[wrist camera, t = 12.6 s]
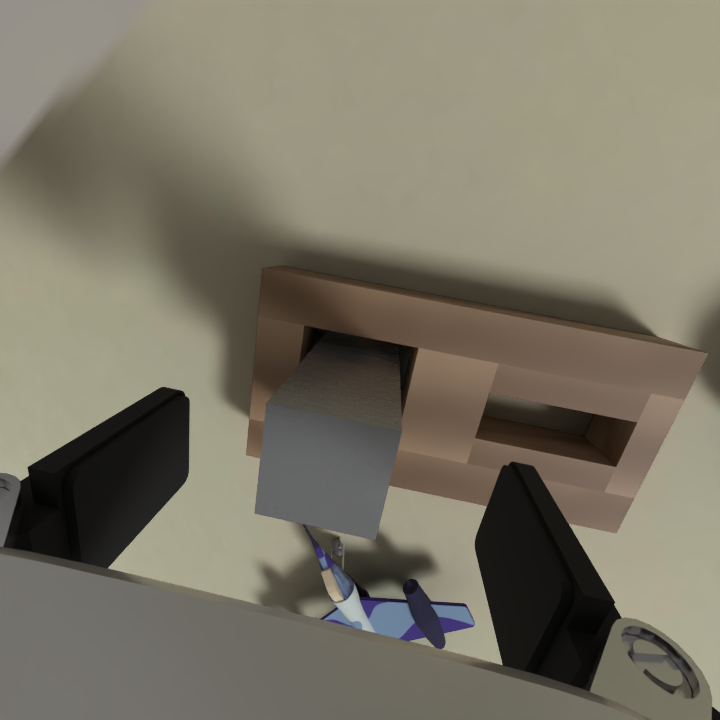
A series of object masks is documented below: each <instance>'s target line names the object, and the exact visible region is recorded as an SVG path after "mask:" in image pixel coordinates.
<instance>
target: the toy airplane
mask: <svg viewBox="0 0 720 720" xmlns="http://www.w3.org/2000/svg"><path fill="white" fill-rule="evenodd" d="M303 526H304V528H305V530H306V532H307V534H308V535H309V537H310V539H311V541H312V544H313V547H314V549H315V552H316V554H317V557H318V560H319V563H320V566H321V570H322V571H321V574H322V577H323V580H324V583H325V586H326V589H327V591H328V593H329V595H330V599H331V601H332V602H333V603H334V604H335V605H336V606H337V607H336V608H335V609H334V610H332V611H331V612H330V613H328V614H327V615H325V616H324V617H323V618H321V620H325V621H329V622H333V623H337V624H341V625H345V626H349V627H353V628H357V629H361V630H365V631H369V632H373V633H377V634H381V635H385V636H389V637H393V638H397V639H402V640H406V641H411V640H415V639H420V638H424V637H426V638H427V639H428V640H429V641H430V642H431V643H432V644H433V645H434V646H435V648H438V649H442V648H444V646H445V636H444V633H447V632H452V631H456V630H461V629H466V628H470V627H473V626H474V625H475V623H474V620H473V617H472V615H471V613H470V611H469V609H468V607H467V605H466V604H464V603H448V602H433V601H431V600H430V599H429V598H428V596H427V595H426V594H425V592H424V591H423V590H422V588H421V587H420V585H419V584H418V582H417V581H416V580H414V579H409V580H407V579H406V582H405V583H404V585H403V592H404V594H405V596H406V599H407V600H401V599H386V598H370V596H369V594H368V592H367V591H366V590H365V589H361V588H360V587H359V585H358V584H357V583H356V582H355V581H354V580H353V579H352V578H351V577H350V576H349V575H348V574H347V573H345V572H344V547H345V545H344V544H342V543H341V541H340V540H339V539H335V540H334V541H333V543H332V548H331V558H330V557H329V556H328V555H327V554H326V553H325V552H324V550H323V549H322V548H321V547H320V545H319V544H318V543H317V542H316V541H315V540H314V538H313V537H312V535H311V534H310V532H309V531H308V529H307V527H306V526H305V524H303ZM333 552H334V554H335V555H336V556H341V555H342V569H341V568H340V567H339V566H338V565H337V564H336V563H335V561H334V560H333Z"/></svg>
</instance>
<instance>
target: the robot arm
mask: <svg viewBox="0 0 720 720" xmlns="http://www.w3.org/2000/svg"><path fill="white" fill-rule="evenodd" d="M189 407H190V402H189V398H188V397H185V394H184V392H183V391H180V390H175V389H171V388H166V387H161V388H159V389H157V390H156V391H154V392H152V393H151V394H149V395H147V396H146V397H144V398H142V399H141V400H139V401H137V402H136V403H134V404H132V405H131V406H129V407H127V408H126V409H124V410H122V411H121V412H119V413H117V414H116V415H114V416H112V417H111V418H109V419H107V420H106V421H104V422H102V423H101V424H99V425H97V426H96V427H94V428H92V429H91V430H89V431H87V432H86V433H84V434H82V435H81V436H79V437H77V438H76V439H74V440H72V441H71V442H69V443H67V444H66V445H64V446H62V447H61V448H59V449H57V450H56V451H54V452H52V453H51V454H49V455H47V456H46V457H44V458H42V459H41V460H39V461H37V462H36V463H34V464H32V465H31V466H29V467H28V472H29V476H28V477H26V478H25V479H23V480H22V481H20V480H19V479H18V478H17V477H16V476H13V475H10V474H7V473H0V720H720V712H718V711H717V710H716V709H715V708H713V707H712V696H711V691H710V686H709V684H708V683H707V681H706V679H705V677H704V675H703V673H702V671H701V670H700V669H699V668H698V666H697V665H696V664H695V662H694V661H693V660H692V658H691V657H690V656H689V655H688V654H687V653H686V652H685V651H684V650H683V649H682V648H681V647H680V646H679V645H678V644H677V643H675V642H674V641H673V640H671V639H670V638H669V637H668V636H666V635H665V634H664V633H662V632H661V631H659V630H657V629H656V628H654V627H652V626H651V625H649V624H647V623H644V622H642V621H639V620H637V619H631V618H621V616H620V614H619V613H618V611H617V609H616V608H615V606H614V603H615V601H614V600H613V598H612V596H611V595H610V593H609V591H608V590H607V588H606V586H605V585H604V583H603V581H602V580H601V578H600V576H599V574H598V573H597V571H596V569H595V568H594V566H593V564H592V563H591V561H590V559H589V558H588V556H587V554H586V553H585V551H584V549H583V548H582V546H581V544H580V543H579V541H578V539H577V538H576V536H575V534H574V532H573V531H572V529H571V527H570V526H569V524H568V522H567V521H566V519H565V517H564V516H563V514H562V512H561V511H560V509H559V507H558V506H557V504H556V502H555V501H554V499H553V497H552V495H551V494H550V492H549V490H548V489H547V487H546V485H545V484H544V482H543V480H542V479H541V477H540V475H539V474H538V472H537V470H536V469H535V467H534V466H532V465H527V464H523V463H518V462H513V461H512V462H510V463H509V465H508V466H507V465H503V466H502V468H501V470H500V473H499V476H498V478H497V481H496V484H495V486H494V489H493V492H492V494H491V497H490V500H489V503H488V505H487V508H486V511H485V513H484V516H483V519H482V521H481V524H480V527H479V530H478V532H477V535H476V539H475V551H476V555H477V559H478V563H479V568H480V572H481V576H482V580H483V584H484V588H485V592H486V597H487V601H488V605H489V609H490V613H491V617H492V622H493V626H494V630H495V634H496V638H497V642H498V647H499V651H500V655H501V659H502V663H503V665H499V664H495V663H492V662H488V661H484V660H480V659H477V658H473V657H469V656H466V655H462V654H458V653H454V652H450V651H446V650H442V649H438V648H434V647H430V646H426V645H422V644H418V643H414V642H410V641H406V640H402V639H397V638H393V637H389V636H385V635H381V634H377V633H373V632H369V631H365V630H361V629H357V628H353V627H349V626H345V625H341V624H337V623H333V622H329V621H325V620H321V619H317V618H312V617H308V616H304V615H300V614H296V613H292V612H288V611H284V610H280V609H275V608H271V607H267V606H263V605H259V604H255V603H251V602H246V601H242V600H238V599H234V598H230V597H226V596H222V595H217V594H213V593H209V592H205V591H201V590H196V589H192V588H188V587H184V586H179V585H175V584H171V583H167V582H162V581H158V580H154V579H150V578H145V577H141V576H137V575H133V574H128V573H124V572H120V571H116V570H111V569H107V568H108V567H109V566H110V565H111V564H112V563H113V562H114V561H115V559H116V558H117V557H118V556H119V555H120V554H121V553H122V552H123V551H124V549H125V548H126V547H127V546H128V545H129V544H130V543H131V542H132V541H133V540H134V538H135V537H136V536H137V535H138V534H139V533H140V532H141V531H142V530H143V528H144V527H145V526H146V525H147V524H148V523H149V522H150V521H151V520H152V518H153V517H154V516H155V515H156V514H157V513H158V512H159V511H160V510H161V509H162V507H163V506H164V505H165V504H166V503H167V502H168V501H169V500H170V499H171V497H172V496H173V495H174V494H175V493H176V492H177V491H178V490H179V489H180V488H181V486H182V485H183V484H184V483H185V481H186V479H187V477H188V473H189Z"/></svg>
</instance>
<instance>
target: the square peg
mask: <svg viewBox="0 0 720 720" xmlns="http://www.w3.org/2000/svg"><path fill="white" fill-rule="evenodd" d="M401 434H402V413H401V389H400V365H399V344H396V343H391V342H386V341H381V340H376V339H371V338H366V337H361V336H355V335H350V334H345V333H340V332H335V331H330V330H328V331H327V332H326V333H325V334H324V336H323V337H322V338H321V339H320V340H319V341H318V343H317V344H316V345H315V346H314V347H313V349H312V350H311V351H310V352H309V353H308V354H307V356H306V357H305V358H304V359H303V360H302V361H301V363H300V364H299V365H298V366H297V367H296V369H295V370H294V371H293V372H292V373H291V374H290V376H289V377H288V378H287V379H286V380H285V381H284V383H283V384H282V385H281V386H280V387H279V389H278V390H277V391H276V392H275V393H274V394H273V396H272V397H271V398H270V399H269V400H268V401H267V403H266V410H265V420H264V429H263V439H262V448H261V457H260V467H259V476H258V486H257V495H256V505H255V514H259V515H264V516H268V517H273V518H277V519H282V520H287V521H291V522H296V523H300V524H305V525H309V526H314V527H318V528H323V529H327V530H332V531H336V532H341V533H345V534H350V535H355V536H359V537H364V538H368V539H373V540H376V536H377V532H378V528H379V524H380V520H381V516H382V512H383V508H384V503H385V499H386V495H387V491H388V487H389V483H390V479H391V475H392V471H393V467H394V463H395V459H396V455H397V451H398V447H399V442H400V438H401Z"/></svg>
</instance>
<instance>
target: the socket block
mask: <svg viewBox="0 0 720 720" xmlns="http://www.w3.org/2000/svg"><path fill="white" fill-rule="evenodd" d="M316 328H320V329H325V330H330V331H335V332H340V333H345V334H350V335H355V336H361V337H366V338H371V339H376V340H381V341H386V342H391V343H396V344H401V345H406V346H412V350H411V354H410V358H409V363H408V367H407V371H406V376H405V380H404V384H403V388H402V393H401V413H402V434H401V438H400V442H399V447H398V451H397V455H396V459H395V463H394V467H393V471H392V475H391V479H390V483H389V485H390V486H395V487H399V488H404V489H409V490H413V491H418V492H423V493H428V494H432V495H437V496H442V497H447V498H451V499H456V500H461V501H466V502H470V503H475V504H480V505H484V506H487V505H488V503H489V500H490V497H491V494H492V492H493V489H494V486H495V484H496V481H497V478H498V476H499V473H500V470H501V468H502V466H503V465H507V466H508V465H509V463H510V462H512V461H513V462H518V463H523V464H527V465H532V466H534V467H535V469H536V470H537V472H538V474H539V475H540V477H541V479H542V480H543V482H544V484H545V485H546V487H547V489H548V490H549V492H550V494H551V495H552V497H553V499H554V501H555V502H556V504H557V506H558V507H559V509H560V511H561V512H562V514H563V516H564V517H565V519H566V521H567V522H568V523H570V524H574V525H579V526H584V527H589V528H593V529H598V530H603V531H607V532H612V533H617V531H618V529H619V527H620V525H621V523H622V521H623V520H624V518H625V516H626V514H627V512H628V510H629V508H630V506H631V504H632V502H633V500H634V498H635V496H636V494H637V492H638V490H639V488H640V486H641V484H642V482H643V480H644V478H645V477H646V475H647V473H648V471H649V469H650V467H651V465H652V463H653V461H654V459H655V457H656V455H657V453H658V451H659V449H660V447H661V445H662V443H663V441H664V439H665V437H666V435H667V433H668V432H669V430H670V428H671V426H672V424H673V422H674V420H675V418H676V416H677V414H678V412H679V410H680V408H681V406H682V404H683V402H684V400H685V398H686V396H687V394H688V392H689V390H690V389H691V387H692V385H693V383H694V381H695V379H696V377H697V375H698V373H699V371H700V369H701V367H702V365H703V363H704V361H705V359H706V357H707V355H708V353H706V352H702V351H699V350H696V349H693V348H690V347H687V346H684V345H681V344H678V343H675V342H672V341H669V340H666V339H663V338H659V337H655V336H649V335H644V334H639V333H634V332H628V331H623V330H618V329H612V328H607V327H602V326H597V325H591V324H586V323H581V322H576V321H570V320H565V319H560V318H555V317H549V316H544V315H539V314H534V313H528V312H523V311H518V310H512V309H507V308H502V307H497V306H491V305H486V304H481V303H476V302H470V301H465V300H460V299H455V298H449V297H444V296H439V295H434V294H428V293H423V292H418V291H412V290H407V289H402V288H397V287H391V286H386V285H381V284H376V283H370V282H365V281H360V280H355V279H349V278H344V277H339V276H334V275H328V274H323V273H318V272H312V271H307V270H302V269H297V268H291V267H286V266H277V267H269V268H262V278H261V289H260V301H259V312H258V324H257V335H256V347H255V359H254V370H253V382H252V393H251V405H250V416H249V428H248V439H247V451H246V455H248V456H253V457H257V458H260V457H261V448H262V439H263V429H264V420H265V410H266V403H267V401H268V400H269V399H270V398H271V397H272V396H273V394H274V393H275V392H276V391H277V390H278V389H279V387H280V386H281V385H282V384H283V383H284V381H285V380H286V379H287V378H288V377H289V376H290V374H291V373H292V372H293V371H294V370H295V369H296V367H297V366H298V365H299V364H300V363H301V361H302V360H303V359H304V358H305V357H306V356H307V354H308V353H309V352H310V351H311V350H312V349H313V343H314V336H315V329H316ZM489 393H492V394H497V395H502V396H507V397H512V398H517V399H522V400H527V401H533V402H538V403H543V404H548V405H553V406H558V407H563V408H568V409H573V410H578V411H583V412H588V413H593V414H594V416H593V418H592V420H591V423H590V425H589V427H588V430H587V432H586V434H585V436H580V435H575V434H570V433H565V432H560V431H555V430H550V429H545V428H540V427H535V426H530V425H525V424H520V423H516V422H511V421H506V420H501V419H496V418H491V417H486V416H482V414H483V411H484V408H485V405H486V402H487V399H488V395H489Z"/></svg>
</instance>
